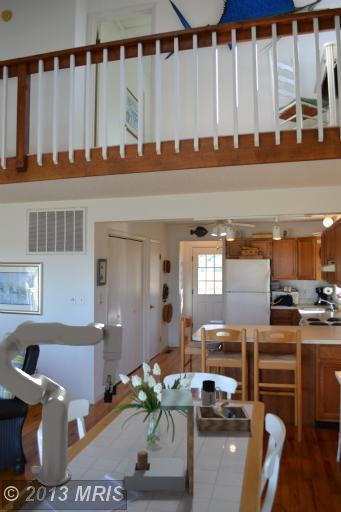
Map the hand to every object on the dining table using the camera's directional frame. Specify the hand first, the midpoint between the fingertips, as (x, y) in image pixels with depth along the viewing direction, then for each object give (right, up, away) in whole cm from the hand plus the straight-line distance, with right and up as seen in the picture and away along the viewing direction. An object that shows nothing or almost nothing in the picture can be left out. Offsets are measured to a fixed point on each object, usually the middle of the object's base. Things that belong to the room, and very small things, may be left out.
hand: (110, 398), depth 155 cm
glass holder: (+48, -33, +73) cm, 94 cm away
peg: (+13, -29, -6) cm, 32 cm away
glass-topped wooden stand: (+26, -29, -6) cm, 40 cm away
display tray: (+51, -32, +50) cm, 78 cm away
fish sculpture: (+54, -32, +49) cm, 80 cm away
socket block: (+18, -29, -6) cm, 35 cm away
